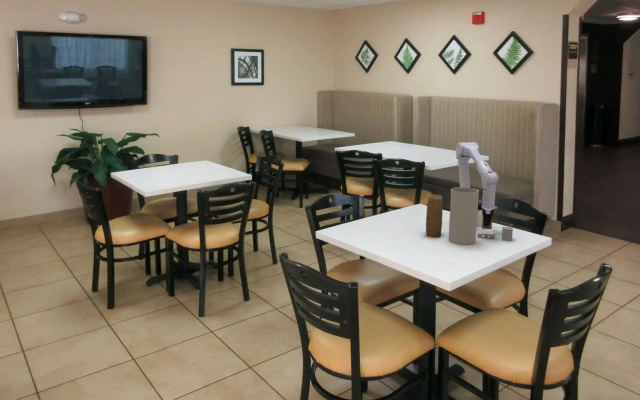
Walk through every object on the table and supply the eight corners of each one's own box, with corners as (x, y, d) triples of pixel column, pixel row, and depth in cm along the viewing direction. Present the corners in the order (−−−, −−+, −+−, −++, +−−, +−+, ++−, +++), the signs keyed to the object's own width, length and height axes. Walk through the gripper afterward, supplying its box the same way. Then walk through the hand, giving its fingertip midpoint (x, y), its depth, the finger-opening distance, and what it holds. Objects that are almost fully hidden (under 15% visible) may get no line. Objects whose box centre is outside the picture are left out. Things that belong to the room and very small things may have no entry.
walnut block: (481, 228, 260) (482, 216, 259) (482, 226, 265) (482, 214, 263) (491, 229, 259) (492, 217, 258) (491, 226, 263) (492, 215, 262)
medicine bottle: (482, 223, 288) (484, 202, 285) (484, 227, 281) (487, 205, 278) (468, 222, 289) (471, 201, 286) (471, 226, 282) (473, 204, 279)
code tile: (477, 238, 260) (477, 237, 260) (477, 234, 268) (477, 233, 268) (494, 239, 258) (494, 239, 258) (494, 235, 265) (494, 234, 265)
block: (440, 238, 261) (442, 198, 257) (424, 236, 263) (426, 197, 259) (442, 232, 271) (444, 193, 267) (427, 231, 273) (429, 192, 269)
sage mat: (493, 235, 266) (493, 234, 266) (492, 231, 273) (493, 230, 273) (508, 236, 264) (509, 235, 264) (508, 232, 271) (508, 231, 271)
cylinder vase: (456, 246, 248) (459, 193, 243) (443, 238, 260) (446, 188, 255) (480, 244, 252) (484, 192, 246) (466, 236, 263) (469, 186, 258)
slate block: (501, 241, 256) (502, 229, 255) (501, 238, 261) (502, 226, 259) (511, 241, 255) (512, 229, 254) (511, 239, 259) (512, 227, 258)
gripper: (497, 201, 251) (495, 229, 254) (497, 195, 264) (495, 221, 267) (482, 200, 253) (480, 228, 256) (482, 194, 266) (480, 220, 269)
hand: (486, 224), depth 262 cm, fingers closed on walnut block, 4 cm apart
